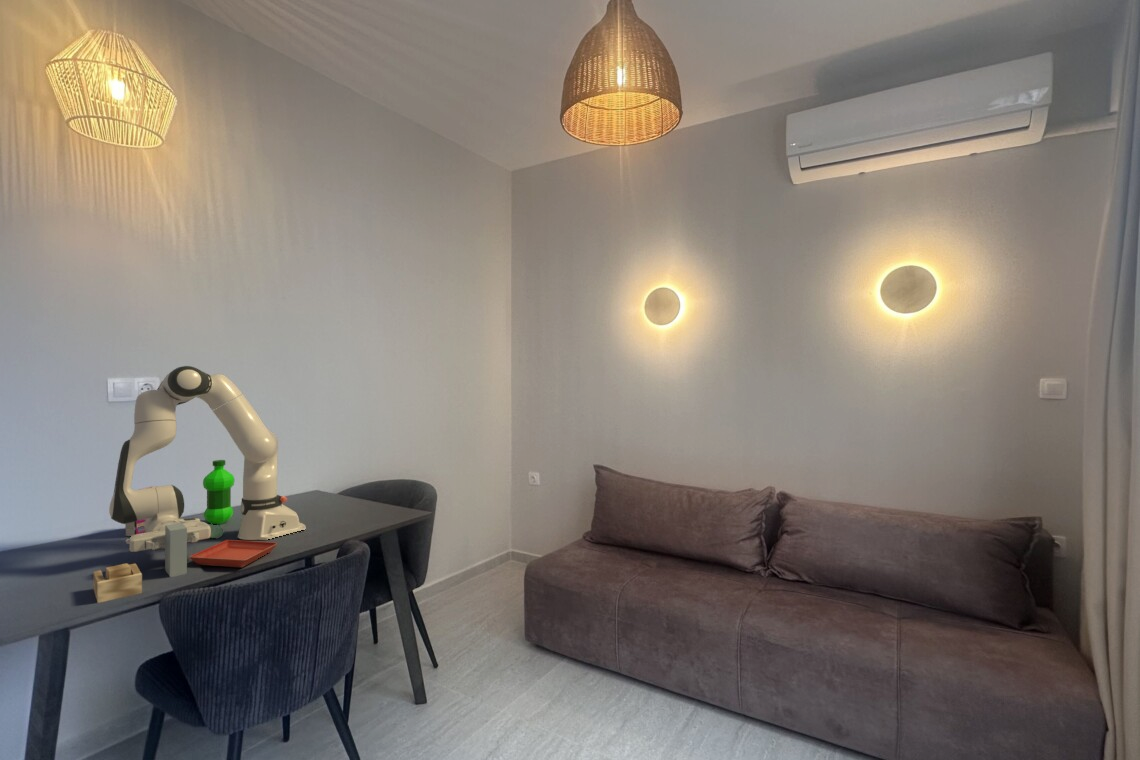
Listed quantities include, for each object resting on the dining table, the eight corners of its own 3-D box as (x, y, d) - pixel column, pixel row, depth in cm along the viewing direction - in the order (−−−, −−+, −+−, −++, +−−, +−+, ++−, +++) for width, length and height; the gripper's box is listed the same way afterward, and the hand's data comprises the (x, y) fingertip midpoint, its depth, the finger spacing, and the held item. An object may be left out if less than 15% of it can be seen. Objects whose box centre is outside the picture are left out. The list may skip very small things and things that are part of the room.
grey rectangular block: (181, 567, 164) (181, 522, 163) (186, 574, 158) (186, 528, 158) (165, 571, 161) (165, 525, 161) (170, 578, 155) (170, 530, 155)
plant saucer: (278, 551, 181) (278, 541, 181) (244, 570, 163) (244, 559, 163) (226, 549, 182) (226, 539, 182) (187, 567, 164) (187, 556, 164)
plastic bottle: (214, 518, 219) (215, 458, 218) (239, 519, 218) (240, 459, 218) (196, 526, 209) (197, 462, 208) (222, 526, 208) (223, 463, 208)
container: (224, 521, 196) (170, 514, 201) (210, 531, 190) (155, 524, 196) (229, 534, 198) (175, 527, 204) (215, 544, 193) (161, 537, 199)
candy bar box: (153, 527, 206) (153, 485, 205) (164, 528, 205) (164, 486, 204) (123, 536, 195) (124, 491, 194) (135, 537, 194) (135, 492, 193)
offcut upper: (127, 574, 147) (127, 563, 147) (130, 577, 144) (130, 566, 144) (105, 578, 143) (105, 567, 143) (109, 582, 141) (109, 571, 141)
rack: (135, 584, 152) (135, 563, 152) (141, 596, 144) (141, 574, 144) (93, 593, 146) (93, 571, 146) (97, 606, 138) (97, 583, 138)
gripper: (124, 529, 161) (131, 540, 152) (204, 517, 176) (215, 526, 166) (124, 550, 161) (131, 562, 152) (204, 536, 176) (215, 545, 167)
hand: (175, 543), depth 159 cm, fingers open, 8 cm apart
